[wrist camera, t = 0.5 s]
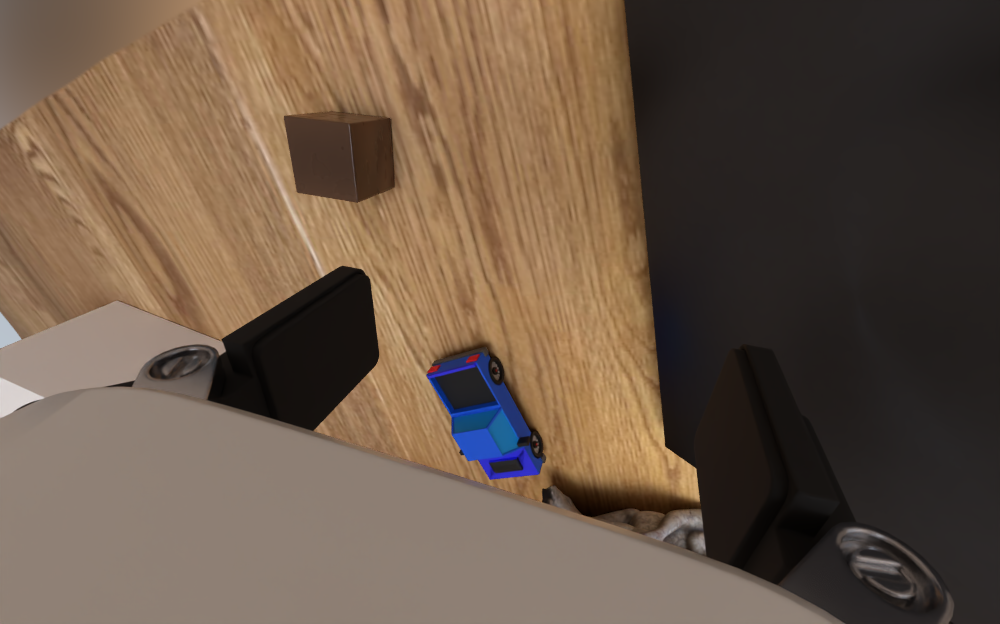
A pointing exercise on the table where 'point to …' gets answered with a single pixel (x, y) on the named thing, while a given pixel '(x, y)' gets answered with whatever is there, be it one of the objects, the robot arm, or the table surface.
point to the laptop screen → (838, 243)
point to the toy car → (486, 415)
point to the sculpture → (646, 522)
